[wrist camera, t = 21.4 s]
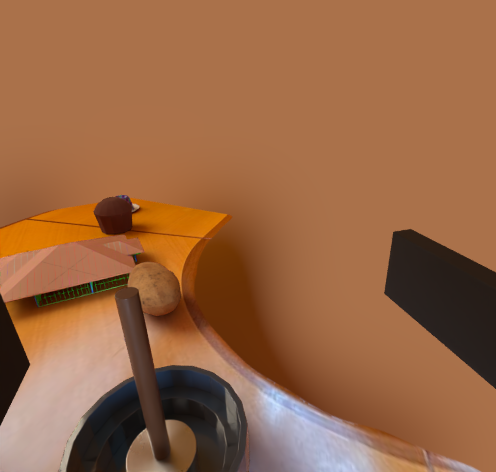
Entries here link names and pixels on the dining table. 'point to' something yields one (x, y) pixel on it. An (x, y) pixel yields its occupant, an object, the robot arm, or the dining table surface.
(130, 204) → the pudding
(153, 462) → the brown rod with cylinder
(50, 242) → the dining table surface
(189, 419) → the bowl
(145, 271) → the potato
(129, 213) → the muffin
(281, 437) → the dining table surface
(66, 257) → the house
